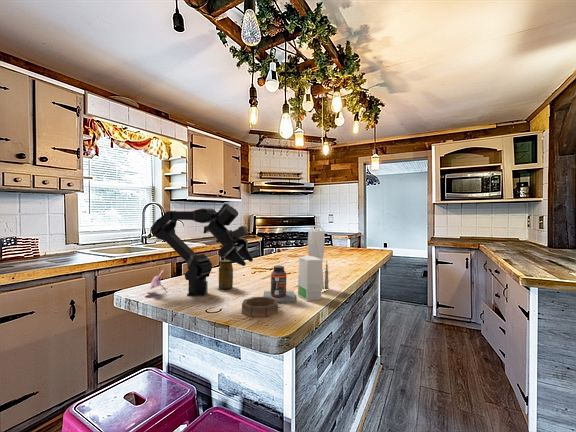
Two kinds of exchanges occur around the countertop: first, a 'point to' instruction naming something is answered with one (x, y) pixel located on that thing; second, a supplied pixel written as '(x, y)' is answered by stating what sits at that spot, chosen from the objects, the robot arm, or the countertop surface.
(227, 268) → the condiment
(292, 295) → the pad
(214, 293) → the countertop surface
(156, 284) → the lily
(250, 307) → the collar ring
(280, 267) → the supplement bottle
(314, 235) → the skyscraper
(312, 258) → the skincare box
